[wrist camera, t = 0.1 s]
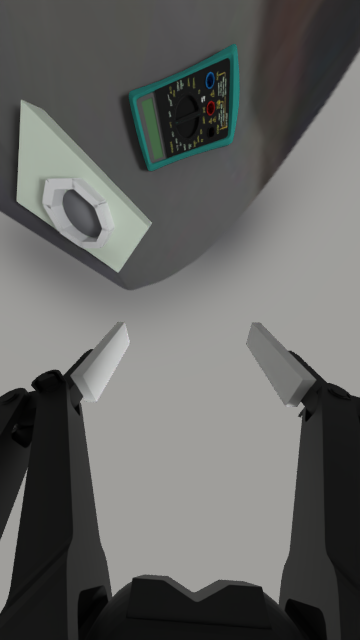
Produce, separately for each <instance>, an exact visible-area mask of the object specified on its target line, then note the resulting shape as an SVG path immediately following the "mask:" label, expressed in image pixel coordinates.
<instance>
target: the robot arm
mask: <svg viewBox="0 0 360 640" xmlns="http://www.w3.org/2000/svg"><path fill="white" fill-rule="evenodd" d="M129 344H130V341H129V337H128V333H127V329H126V325H125V322H117V324H116V325H115V326H114V327H113V328H112V329H111V330H110V332H109V333H108V334H107V335H106V336H105V337H104V338H103V339H102V341H101V342H100V343H99V344H98V345H97V346H96V347H95V348H94V349H90V350H89V351H87V352H86V353H84V354H83V355H82V356H81V357H80V359H79V360H78V361H77V362H76V363H75V364H74V365H73V366H72V367H71V368H70V369H69V370H68V371H67V372H66V373H65V374H64V375H62V374H61V372H60V371H59V370H51V371H48V372H45V373H43V374H41V375H40V376H38V377H37V378H36V379H35V380H34V381H33V382H32V384H31V386H32V387H33V388H34V389H35V390H36V391H32V392H27V391H26V390H25V389H24V388H18V389H14V390H12V391H9V392H7V393H6V394H4V395H3V396H1V397H0V539H1V537H2V534H3V531H4V529H5V526H6V524H7V521H8V518H9V516H10V513H11V510H12V507H13V505H14V502H15V500H16V497H17V494H18V491H19V489H20V486H21V483H22V481H23V478H24V476H25V473H26V470H27V468H28V471H27V477H26V484H25V491H24V497H23V505H22V511H21V518H20V525H19V532H18V539H17V546H16V552H15V559H14V566H13V573H12V580H11V587H10V592H9V596H8V599H7V602H6V604H5V607H4V608H3V610H2V611H1V613H0V640H360V398H359V397H356V396H352V395H350V394H349V393H348V392H347V391H345V390H344V389H342V388H340V387H339V386H337V385H334V384H331V383H327V382H326V381H325V380H324V379H323V378H322V377H321V376H319V375H318V374H317V373H316V372H315V371H314V370H313V369H312V368H311V367H310V366H308V364H307V363H306V362H304V360H303V359H302V358H301V357H300V356H298V355H297V354H295V353H294V352H292V351H287V350H286V349H285V347H283V345H282V344H280V342H279V341H277V339H276V338H274V336H273V335H272V334H271V333H270V332H269V331H268V330H267V329H266V328H265V327H264V326H263V325H262V324H261V323H252V325H251V329H250V332H249V336H248V339H247V343H246V344H247V346H248V348H249V349H250V351H251V352H252V354H253V356H254V357H255V359H256V360H257V362H258V364H259V365H260V367H261V368H262V370H263V371H264V373H265V375H266V376H267V378H268V379H269V381H270V383H271V384H272V386H273V387H274V389H275V391H276V392H277V394H278V395H279V397H280V399H281V400H282V402H283V403H284V405H285V406H290V407H291V406H292V407H297V406H298V405H299V403H300V402H302V403H303V405H304V406H305V407H304V409H303V410H302V411H301V412H300V414H299V417H301V416H302V426H301V436H300V447H299V458H298V469H297V479H296V490H295V501H294V511H293V522H292V533H291V544H290V552H289V556H288V559H287V561H286V563H285V565H284V570H283V574H282V580H281V588H280V597H279V605H278V604H277V603H276V602H275V601H274V600H273V599H272V598H270V597H269V596H268V595H267V594H265V593H264V592H263V590H262V587H261V586H257V585H254V584H250V583H247V582H243V581H229V580H218V581H216V582H214V583H212V584H210V585H208V586H207V587H205V588H203V589H201V590H199V591H197V592H195V593H194V592H191V591H190V590H188V589H186V588H185V587H184V586H182V585H181V584H179V583H178V582H176V581H175V580H173V579H172V578H170V577H168V576H157V575H142V576H138V577H134V578H133V579H132V582H130V583H128V584H127V585H126V586H124V587H123V588H122V589H121V590H119V591H118V592H117V593H116V594H115V595H114V596H113V597H112V593H111V586H110V579H109V572H108V566H107V561H106V557H105V554H104V551H103V548H102V546H101V543H100V538H99V530H98V523H97V516H96V509H95V502H94V494H93V487H92V480H91V473H90V466H89V458H88V451H87V444H86V436H85V429H84V422H83V414H82V407H81V403H80V401H81V399H82V398H83V397H84V399H85V401H86V402H97V400H98V399H99V397H100V395H101V393H102V392H103V390H104V388H105V386H106V384H107V383H108V381H109V379H110V377H111V375H112V374H113V372H114V370H115V369H116V367H117V365H118V363H119V362H120V360H121V358H122V356H123V355H124V353H125V351H126V349H127V347H128V346H129Z"/></svg>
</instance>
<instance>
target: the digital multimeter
mask: <svg viewBox="0 0 360 640" xmlns="http://www.w3.org/2000/svg"><path fill="white" fill-rule="evenodd" d="M223 59H224V60H223ZM239 90H240V88H239V65H238V53H237V46H236V44H232V45H231V46H229V47H227V48H225V49H223V50H222V51H220V52H218V53H216V54H215V55H213V56H211V57H209V58H207V59H205V60H203V61H202V62H200V63H198V64H196V65H194V66H192V67H190V68H188V69H186V70H184V71H182V72H179V73H177V74H175V75H172V76H170V77H168V78H165V79H163V80H161V81H158V82H155V83H152V84H150V85H147V86H144V87H141V88H138V89H135V90H133V91H131V92H130V93H129V101H130V106H131V111H132V115H133V120H134V124H135V128H136V132H137V136H138V140H139V143H140V147H141V150H142V153H143V157H144V160H145V163H146V166H147V168H148V170H149V171H154V170H156V169H158V168H161V167H163V166H166V165H168V164H170V163H173V162H176V161H178V160H181V159H184V158H187V157H189V156H192V155H196V154H199V153H202V152H206V151H209V150H212V149H216V148H220V147H224V146H227V145H229V144H230V143H232V141H233V137H234V132H235V127H236V121H237V114H238V107H239ZM229 91H230V93H229ZM140 97H141V98H140ZM174 108H175V109H174ZM200 116H201V118H200ZM215 141H216V142H215ZM212 142H213V143H212Z"/></svg>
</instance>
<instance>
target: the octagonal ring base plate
mask: <svg viewBox="0 0 360 640" xmlns="http://www.w3.org/2000/svg"><path fill="white" fill-rule="evenodd" d="M17 202H18V203H19V204H21V205H22V206H24V207H25V208H27V209H28V210H29V211H31V212H32V213H34V214H35V215H37V216H38V217H39V218H41V219H42V220H44V221H45V222H47V223H48V224H49V225H51V226H52V227H54V228H55V229H57V230H58V231H59V232H60V233H61V234H62V235H63V236H65V237H66V238H68V239H69V240H71V241H72V242H73V243H75V244H76V245H78V246H79V247H82V248H84V249H85V250H87V251H88V252H89V253H91V254H92V255H94V256H95V257H97V258H98V259H99V260H101V261H102V262H104V263H105V264H107V265H108V266H109V267H111V268H112V269H114V270H115V271H117V272H119V271H120V270H121V268H122V267H123V265H124V264H125V262H126V261H127V259H128V258H129V256H130V255H131V253H132V252H133V250H134V249H135V248H136V246H137V245H138V243H139V242H140V240H141V239H142V237H143V236H144V234H145V233H146V231H147V230H148V229H149V227H150V226H151V224H152V222H151V221H150V220H149V219H148V218H147V217H146V216H145V215H144V214H143V213H142V212H141V211H140V210H139V209H138V208H137V207H136V206H135V205H134V203H133V202H132V201H131V200H130V199H129V198H128V197H127V196H126V195H125V194H124V193H123V192H122V191H121V190H120V189H119V188H118V187H117V186H116V185H115V184H114V183H113V182H112V181H111V180H110V179H109V177H108V176H107V175H106V174H105V173H104V172H103V171H102V170H101V169H100V168H99V167H98V166H97V165H96V164H95V163H94V162H93V161H92V160H91V159H90V158H89V157H88V156H87V155H86V154H85V153H84V151H83V150H82V149H81V148H80V147H79V146H78V145H77V144H76V143H75V142H74V141H73V140H72V139H71V138H70V137H69V136H68V135H67V134H66V133H65V132H64V131H63V130H62V129H61V128H60V127H59V125H58V124H57V123H56V122H55V121H54V120H53V119H52V118H51V117H50V116H49V115H48V114H47V113H46V112H45V111H44V110H43V109H41V108H39V107H37V106H34V105H32V104H30V103H28V102H26V101H23V100H21V114H20V137H19V160H18V183H17Z"/></svg>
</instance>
